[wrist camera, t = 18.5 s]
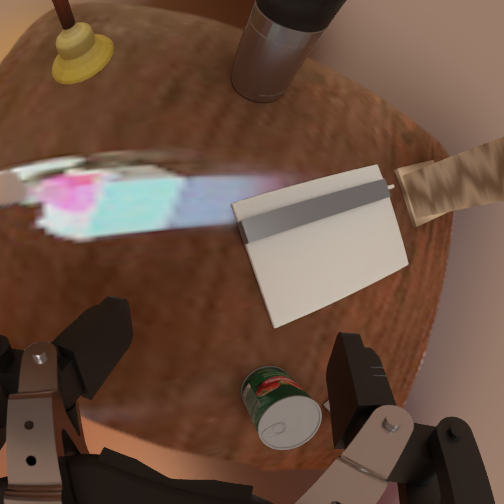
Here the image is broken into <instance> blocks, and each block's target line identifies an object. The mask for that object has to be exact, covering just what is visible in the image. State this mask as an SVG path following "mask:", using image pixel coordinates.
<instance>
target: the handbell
mask: <svg viewBox="0 0 504 504" xmlns="http://www.w3.org/2000/svg"><path fill="white" fill-rule="evenodd" d="M52 2H53V4H54V7H55V9H56V12H57V15H58V17H59V20H60V22H61V25H62V27H63V31H62V32H61V33H60V34H59V36H58V37H57V40H56V48H57V51H58V53H59V54H58V56H57V57H56V59H55V60H54V64H53V67H52V75H53V77H54V79H55V80H56V81H57V82H59V83H61V84H74V83H78V82H82V81H84V80H86V79H88V78H90V77H92V76H93V75H95V74H96V73H98V72H99V71H100V70H102V68H103V67H104V66H105V65H106V64H107V63H108V62H109V60H110V59H111V57H112V55H113V51H114V45H113V42H112V41H111V40H110V39H109V38H108V37H106V36H103V35H100V34H94V33H93V30H92V28H91V26H90V25H89V24H87V23H76V22H75V20H74V17H73V14H72V11H71V8H70V5H69V2H68V0H52Z"/></svg>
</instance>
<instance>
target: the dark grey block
mask: <svg viewBox="0 0 504 504" xmlns="http://www.w3.org/2000/svg"><path fill="white" fill-rule="evenodd" d="M391 188H394V184H393V185H390V186H387V183H386V181H385V179H381V180H377V181H374V182H370V183H366V184H362V185H359V186H355V187H351V188H348V189H344V190H341V191H337V192H333V193H330V194H326V195H323V196H319V197H316V198H312V199H309V200H305V201H302V202H299V203H295V204H292V205H289V206H285V207H282V208H278V209H275V210H272V211H269V212H265V213H262V214H259V215H255V216H252V217H249V218H246V219H243V220H240V221H239V222H238V223H237V225H238V228H239V231H240V234H241V237H242V240H243V243H244V245H245V244H248V243H251V242H254V241H257V240H260V239H263V238H266V237H269V236H272V235H275V234H278V233H281V232H284V231H287V230H290V229H293V228H296V227H299V226H302V225H305V224H308V223H311V222H314V221H317V220H320V219H323V218H327V217H330V216H333V215H336V214H339V213H342V212H345V211H348V210H351V209H354V208H357V207H360V206H363V205H367V204H370V203H373V202H376V201H379V200H382V199H385V198H388V197H391V195H390V192H389V189H391Z"/></svg>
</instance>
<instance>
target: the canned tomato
mask: <svg viewBox="0 0 504 504" xmlns="http://www.w3.org/2000/svg"><path fill="white" fill-rule="evenodd" d="M241 397H242V400H243V402H244V404H245V406H246V408H247V411H248V413H249V415H250V417H251V419H252V422H253V424H254V426H255V428H256V430H257V432H258V434H259V437H260V439H261V440H262V442H263V443H264V444H265V445H267V446H268V447H270V448H273V449H277V450H288V449H292V448H296V447H298V446H300V445H302V444H304V443H306V442H307V441H308V440H310V439H311V438H312V437H313V436H314V434H315V433H316V432H317V430H318V428H319V426H320V424H321V420H322V413H321V409H320V407H319V405H318V404H317V403H316V402H315V401H314V400H313V399H312V398H311V397H310V396H309V395H308V394H307V393H306V392H305V391H304V390H303V389H302V388H301V387H300V386H299V385H298V384H297V383H296V382H295V381H294V380H293V379H292V378H291V377H290V376H289V375H288V373H287V372H286V371H284V370H283V369H281V368H279V367H275V366H263V367H260V368H258V369H256V370H254V371H252V372H251V373H250V374H249V375H248V376H247V377H246V378H245V380H244V381H243V384H242V386H241Z"/></svg>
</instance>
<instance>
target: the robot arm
mask: <svg viewBox="0 0 504 504" xmlns="http://www.w3.org/2000/svg"><path fill="white" fill-rule="evenodd" d="M345 1H346V0H256V1H255V4H254V7H253V9H252V12H251V15H250V18H249V21H248V24H247V27H245V28H244V30H243V33H242V37H241V40H240V43H239V46H238V50H237V53H236V56H235V60H234V63H233V65H234V68H233V71H232V76H231V80H232V84H233V86H234V88H235V89H236V91H237V92H238V93H239V94H240V95H242V96H243V97H245V98H247V99H249V100H252V101H255V102H262V103H265V102H272V101H275V100H277V99H279V98H280V97H281V96H282V95H283V93H284V92H285V90H286V89H287V87H288V86H289V84H290V83H291V81H292V80H293V78H294V77H295V75H296V73H297V72H298V70H299V69H300V67H301V66H302V64H303V63H304V61H305V60H306V58H307V57H308V55H309V53H310V52H311V50H312V49H313V47H314V46H315V44H316V43H317V41H318V40H319V38H320V37H321V36H322V34H323V32H324V31H325V30H326V28H327V27H328V25H329V24H330V22H331V21H332V19H333V18H334V16H335V15H336V14H337V12H338V11H339V9H340V8H341V7H342V5H343V4H344V3H345ZM132 337H133V330H132V324H131V316H130V308H129V303H128V301H127V300H126V299H122V298H118V297H113V296H108V297H107V298H106V299H104V300H103V301H102V302H101V303H100V304H99V305H96V306H93V307H91V308H89V309H87V310H86V311H84V312H83V313H82V314H81V315H80V316H79V318H77V319H76V320H75V321H74V322H73V323H72V324H70V325H69V326H68V327H67V328H66V329H65V330H64V331H63V332H62V333H61V334H60V335H59V336H58V337H57V338H56V339H55V340H54V341H53V342H51V343H49V342H37V343H34V344H31V345H30V346H28V347H27V348H26V349H25V350H18V349H12V347H11V345H10V342H9V340H8V338H7V337H5V336H3V335H0V450H1V448H2V447H3V445H4V444H5V442H6V454H7V455H6V456H7V473H8V476H6V477H3V478H0V504H273V503H271V502H270V501H268V500H265V499H263V498H261V497H258V496H256V495H253V494H252V489H253V486H249V485H242V484H234V483H228V482H222V481H217V480H183V479H171V478H168V477H166V476H164V475H162V474H161V473H159V472H157V471H155V470H153V469H152V468H150V467H148V466H147V465H145V464H143V463H141V462H140V461H138V460H137V459H134V458H131V457H128V456H126V455H123V454H120V453H118V452H115V451H113V450H110V449H108V448H105V447H104V448H103V450H102V452H101V454H100V455H97V454H89V451H88V449H87V446H86V443H85V439H84V434H83V429H82V423H81V417H80V410H79V404H78V402H77V399H78V398H79V396H82V397H85V398H87V399H89V400H92V398H93V397H94V395H95V394H96V392H97V391H98V390H99V388H100V387H101V385H102V384H103V382H104V381H105V380H106V378H107V377H108V375H109V374H110V373H111V371H112V370H113V368H114V367H115V366H116V364H117V363H118V361H119V360H120V359H121V357H122V356H123V355H124V353H125V352H126V350H127V349H128V348H129V346H130V344H131V342H132ZM382 367H383V366H382V363H381V361H380V358H379V356H378V355H377V354H376V353H375V352H374V351H373V350H372V349H371V348H365V347H364V346H363V343H362V340H361V337H360V335H359V334H356V333H343V332H339V333H338V335H337V337H336V341H335V344H334V347H333V350H332V353H331V356H330V359H329V362H328V366H327V372H326V381H327V389H328V397H329V405H330V414H331V423H332V433H333V443H334V449H345V451H344V452H343V454H342V455H341V456H339V457H338V458H337V459H336V460H335V461H334V462H333V464H332V465H331V466H330V467H329V468H328V469H327V471H326V472H325V473H324V474H323V475H322V476H321V477H320V478H319V480H318V481H317V482H316V483H315V484H314V485H313V486H312V487H311V488H310V489H309V490H308V491H307V492H306V493H305V494H304V495H303V496H302V497H301V498H300V499H299V500H298V501H297V502H296V503H295V504H376V503H377V501H378V500H379V498H380V497H381V495H382V494H383V492H384V490H385V489H386V486H387V485H388V482H389V481H392V482H397V484H398V492H399V501H400V504H495V501H494V497H493V494H492V490H491V486H490V483H489V479H488V476H487V473H486V470H485V467H484V464H483V461H482V458H481V455H480V452H479V449H478V446H477V444H476V441H475V438H474V436H473V433H472V431H471V429H470V427H469V425H468V424H467V423H466V422H465V421H463V420H462V419H460V418H457V417H446V418H444V419H443V420H441V421H440V422H439V424H438V425H437V426H436V427H434V426H428V425H422V424H417V423H414V422H413V419H412V417H411V416H410V415H409V413H408V412H406V411H405V410H404V409H402V408H400V407H398V406H396V403H395V400H394V397H393V394H392V391H391V388H390V386H389V383H388V380H387V377H385V375H386V374H385V372H384V369H382Z"/></svg>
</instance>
